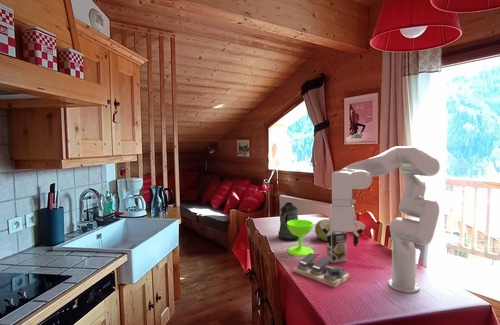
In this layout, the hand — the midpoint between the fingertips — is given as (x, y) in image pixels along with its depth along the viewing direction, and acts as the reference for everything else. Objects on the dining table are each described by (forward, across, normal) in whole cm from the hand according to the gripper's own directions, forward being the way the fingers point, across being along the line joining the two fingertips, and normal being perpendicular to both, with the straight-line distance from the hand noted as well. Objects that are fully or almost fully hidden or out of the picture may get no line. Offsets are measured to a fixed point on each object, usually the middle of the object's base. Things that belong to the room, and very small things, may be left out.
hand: (342, 245), depth 117 cm
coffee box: (+26, -4, -50) cm, 56 cm away
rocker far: (+20, +12, -35) cm, 42 cm away
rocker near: (+20, 0, -25) cm, 32 cm away
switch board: (+26, +6, -30) cm, 40 cm away
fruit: (+26, -2, -86) cm, 90 cm away
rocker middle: (+20, +6, -30) cm, 36 cm away
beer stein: (+26, +23, -86) cm, 93 cm away
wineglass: (+26, +16, -61) cm, 68 cm away
